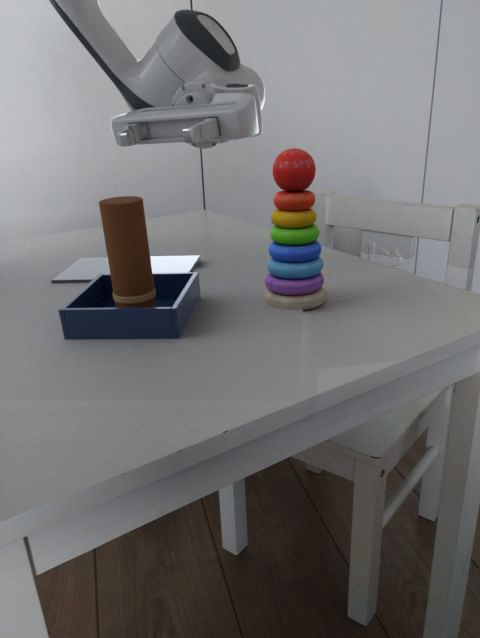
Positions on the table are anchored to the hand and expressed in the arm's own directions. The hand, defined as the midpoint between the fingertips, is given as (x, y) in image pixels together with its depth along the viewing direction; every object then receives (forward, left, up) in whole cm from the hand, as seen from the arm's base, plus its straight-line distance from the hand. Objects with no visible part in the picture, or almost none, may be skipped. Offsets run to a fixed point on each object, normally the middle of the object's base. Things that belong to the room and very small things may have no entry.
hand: (154, 138), depth 70 cm
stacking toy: (+17, -4, -20) cm, 27 cm away
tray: (-2, -10, -20) cm, 23 cm away
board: (-9, +10, -20) cm, 24 cm away
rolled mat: (-2, -10, -20) cm, 22 cm away
